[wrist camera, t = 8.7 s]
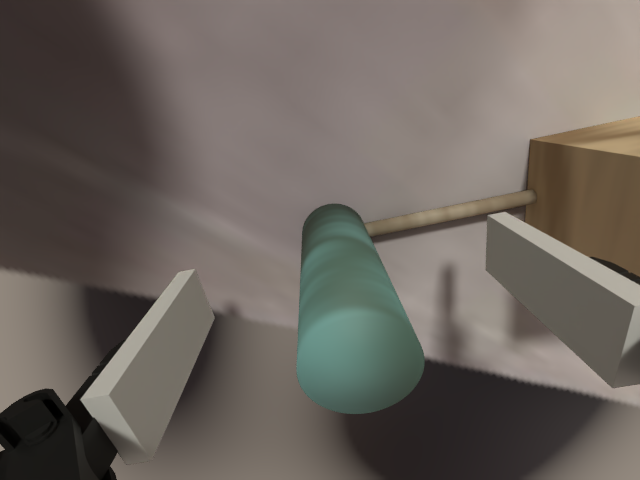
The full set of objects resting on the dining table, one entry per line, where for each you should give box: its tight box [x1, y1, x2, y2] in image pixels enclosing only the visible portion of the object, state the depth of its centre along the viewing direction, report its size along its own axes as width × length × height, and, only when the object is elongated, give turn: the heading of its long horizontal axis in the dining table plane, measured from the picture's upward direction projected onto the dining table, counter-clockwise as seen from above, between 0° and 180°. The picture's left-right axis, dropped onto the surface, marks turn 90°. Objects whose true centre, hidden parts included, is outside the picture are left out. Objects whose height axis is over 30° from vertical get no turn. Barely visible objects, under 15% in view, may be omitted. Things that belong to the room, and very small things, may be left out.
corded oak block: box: [297, 116, 640, 414], centre depth 13 cm, size 19×6×10 cm, turn 102°
